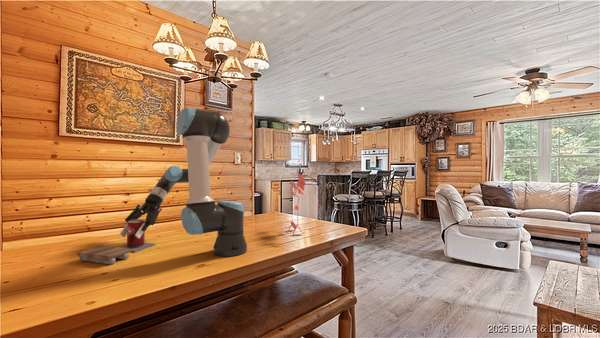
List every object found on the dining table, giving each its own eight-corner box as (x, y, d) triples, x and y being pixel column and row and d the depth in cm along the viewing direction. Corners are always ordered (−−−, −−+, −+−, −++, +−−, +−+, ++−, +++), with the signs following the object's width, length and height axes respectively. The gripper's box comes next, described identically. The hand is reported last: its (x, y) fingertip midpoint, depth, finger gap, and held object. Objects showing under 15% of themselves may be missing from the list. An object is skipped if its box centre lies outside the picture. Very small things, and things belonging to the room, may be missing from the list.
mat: (155, 244, 133) (155, 243, 133) (134, 252, 122) (134, 251, 122) (136, 242, 136) (136, 241, 136) (114, 250, 125) (114, 248, 125)
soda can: (128, 249, 124) (128, 223, 124) (125, 245, 129) (126, 220, 129) (146, 246, 129) (146, 221, 128) (142, 242, 134) (143, 218, 134)
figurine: (295, 238, 147) (297, 174, 146) (282, 228, 171) (284, 172, 171) (321, 237, 152) (323, 174, 151) (305, 227, 176) (307, 173, 176)
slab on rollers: (130, 257, 115) (130, 248, 115) (108, 266, 105) (108, 256, 105) (101, 254, 119) (101, 245, 119) (77, 261, 109) (77, 252, 109)
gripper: (176, 203, 141) (152, 242, 125) (144, 201, 146) (116, 238, 131) (169, 193, 136) (143, 233, 120) (135, 192, 141) (106, 230, 126)
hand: (129, 236), depth 126 cm, fingers open, 8 cm apart
